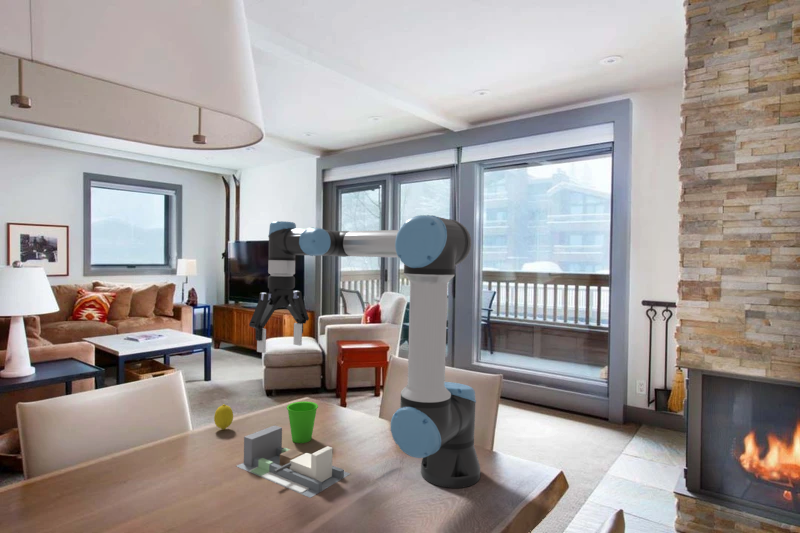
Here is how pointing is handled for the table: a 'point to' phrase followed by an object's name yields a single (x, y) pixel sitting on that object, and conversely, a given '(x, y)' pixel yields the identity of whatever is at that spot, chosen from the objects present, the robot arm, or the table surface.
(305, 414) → the cup
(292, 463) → the cream block
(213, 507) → the table surface
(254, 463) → the base
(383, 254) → the robot arm
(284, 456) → the tan wooden cube
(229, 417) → the lemon
